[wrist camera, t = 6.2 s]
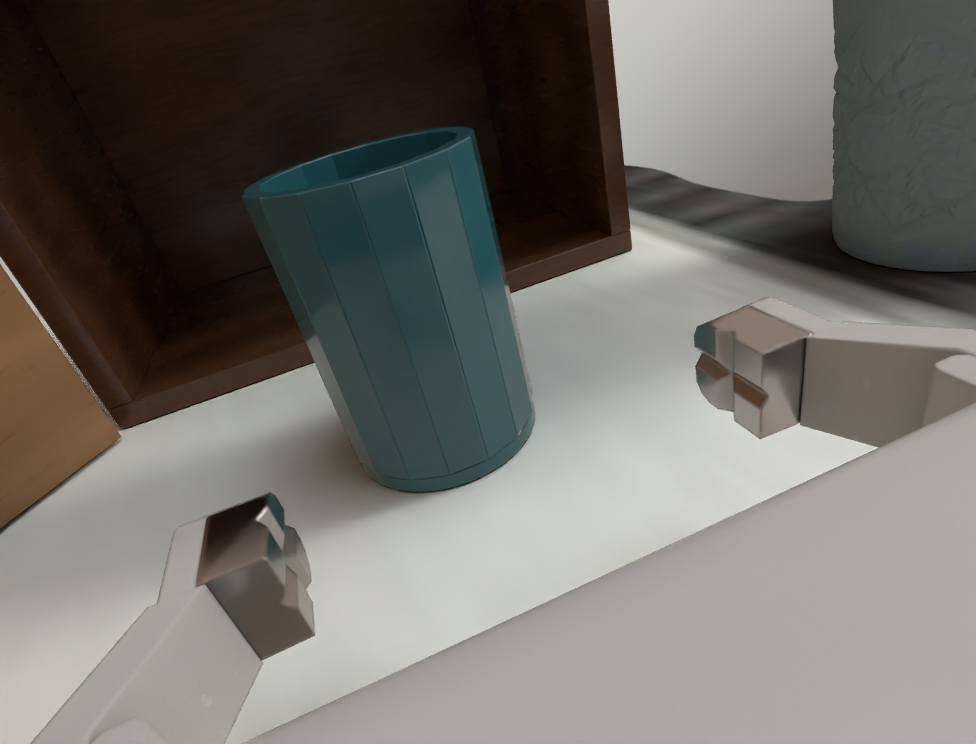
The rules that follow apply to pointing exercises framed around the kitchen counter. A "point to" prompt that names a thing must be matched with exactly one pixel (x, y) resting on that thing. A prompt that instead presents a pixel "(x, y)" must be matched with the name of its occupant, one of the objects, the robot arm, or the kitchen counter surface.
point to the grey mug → (905, 133)
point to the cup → (403, 303)
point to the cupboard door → (40, 409)
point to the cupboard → (272, 160)
